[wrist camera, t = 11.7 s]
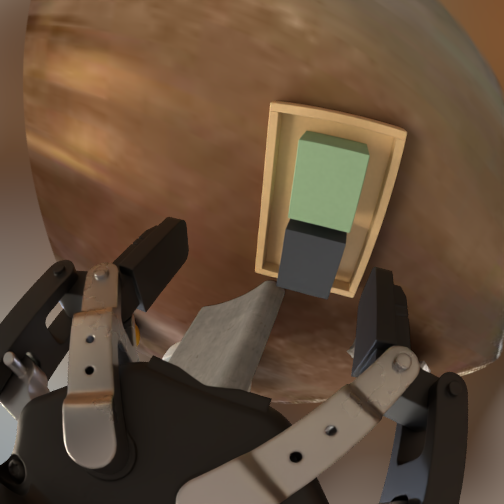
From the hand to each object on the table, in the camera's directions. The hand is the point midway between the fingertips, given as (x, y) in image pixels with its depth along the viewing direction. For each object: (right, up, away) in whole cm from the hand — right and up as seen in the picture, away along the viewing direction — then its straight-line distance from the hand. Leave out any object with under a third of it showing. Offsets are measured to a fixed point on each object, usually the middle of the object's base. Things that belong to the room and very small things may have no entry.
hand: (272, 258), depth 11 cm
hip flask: (-2, -7, +28) cm, 29 cm away
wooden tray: (+6, +5, +15) cm, 17 cm away
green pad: (+6, +8, +13) cm, 16 cm away
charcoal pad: (+6, +1, +18) cm, 19 cm away
